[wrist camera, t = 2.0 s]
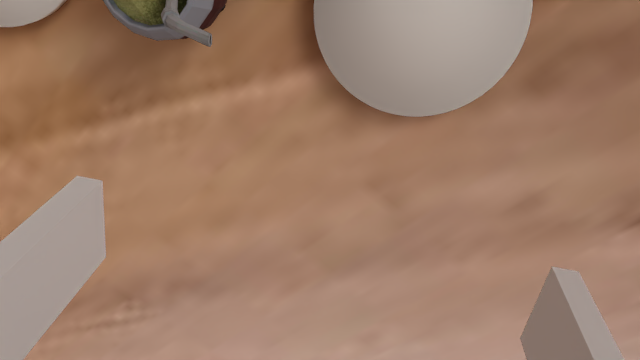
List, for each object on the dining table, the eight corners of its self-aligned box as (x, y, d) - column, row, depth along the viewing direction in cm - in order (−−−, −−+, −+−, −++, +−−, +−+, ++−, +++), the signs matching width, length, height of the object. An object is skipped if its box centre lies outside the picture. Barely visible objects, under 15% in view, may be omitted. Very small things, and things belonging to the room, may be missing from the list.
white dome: (338, -128, 31) (335, -129, 29) (561, -81, 30) (569, -80, 29) (301, 86, 37) (297, 93, 36) (486, 127, 37) (489, 135, 35)
